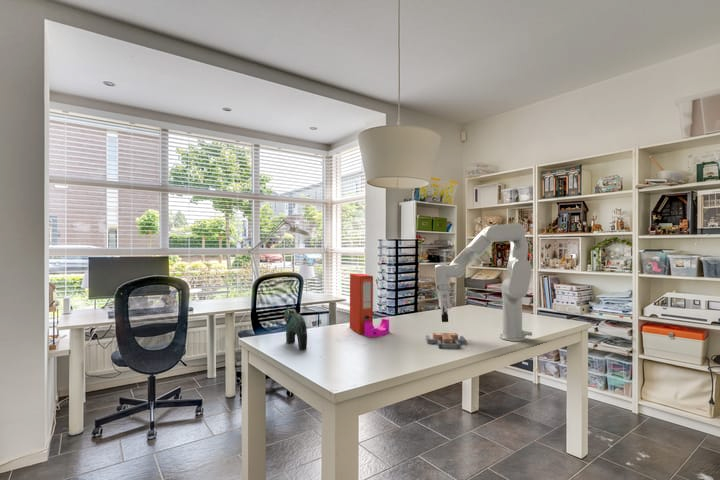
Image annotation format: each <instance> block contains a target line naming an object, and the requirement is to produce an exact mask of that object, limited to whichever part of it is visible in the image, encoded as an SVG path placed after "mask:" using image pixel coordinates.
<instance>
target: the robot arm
mask: <svg viewBox="0 0 720 480" xmlns="http://www.w3.org/2000/svg"><path fill="white" fill-rule="evenodd" d="M526 232H527V231H526V228H525V226H524V225H523V224H522V223H518V222H514V223H505V224H504V223H503V224H493V225H487V226H485V227H484V228H483V229H481V231H480V232H479V233H478V234H476V236H475V237H474V238H473V240H471V242H470V243H468V245H467V246H466V247H465V248H464V249H463V250H461V252H459V254H458V255H457V256H456V257H455V258H454V259H453V260H451V262H450V264H446V263H443V264H441V263H439V264H436V265H435V266H434V278H435V279H434V280H435V290H436V291H437V295H438V296H437V298H438V305H439V308H440V311H441V322H442V323H449V314H448V310H451V306H452V305H451V297H450V291H451V281H450V280H451V279H450V278H456V279H458V278H461V277H463V276H464V275H465V273H466V269H465V268H466V267H467V266H468V265H469V264H470V263H472V262H473V261H475V260H477V259H479V258H480V257H481V256H482V255H483V254H484V253H485V252H486V251H487V250H488V249H489V248H490V246H491V245H493V244H494V242H507V241H508V242H509V244H510V249H509V255H508V260H507V266H506V269H507V272H508V273H509V274H510V277H507V278H505V279H504V280H503V281H502V283H501V297H502V333H500V335H499V338H500V339H502V340H505V341H509V342H524V341H526V337H527V336H530V337H531V336H533V332H532V331H527V330H523V300H522V299H523V298H524V297H526V296H527V294H528V291H529V289H530V283H531V279H532V274H533V273H532V271H533V269H532V267H533V266H532V264H531V263H530V261H529V259H528V252H529V242H528V240H527V237H526Z"/></svg>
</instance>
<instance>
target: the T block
mask: <svg viewBox="0 0 720 480" xmlns="http://www.w3.org/2000/svg"><path fill="white" fill-rule="evenodd" d="M432 339H440V341H441V343H448V344H454V339H459V335H458V333H457V332H456V333H455V332H432Z"/></svg>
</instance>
